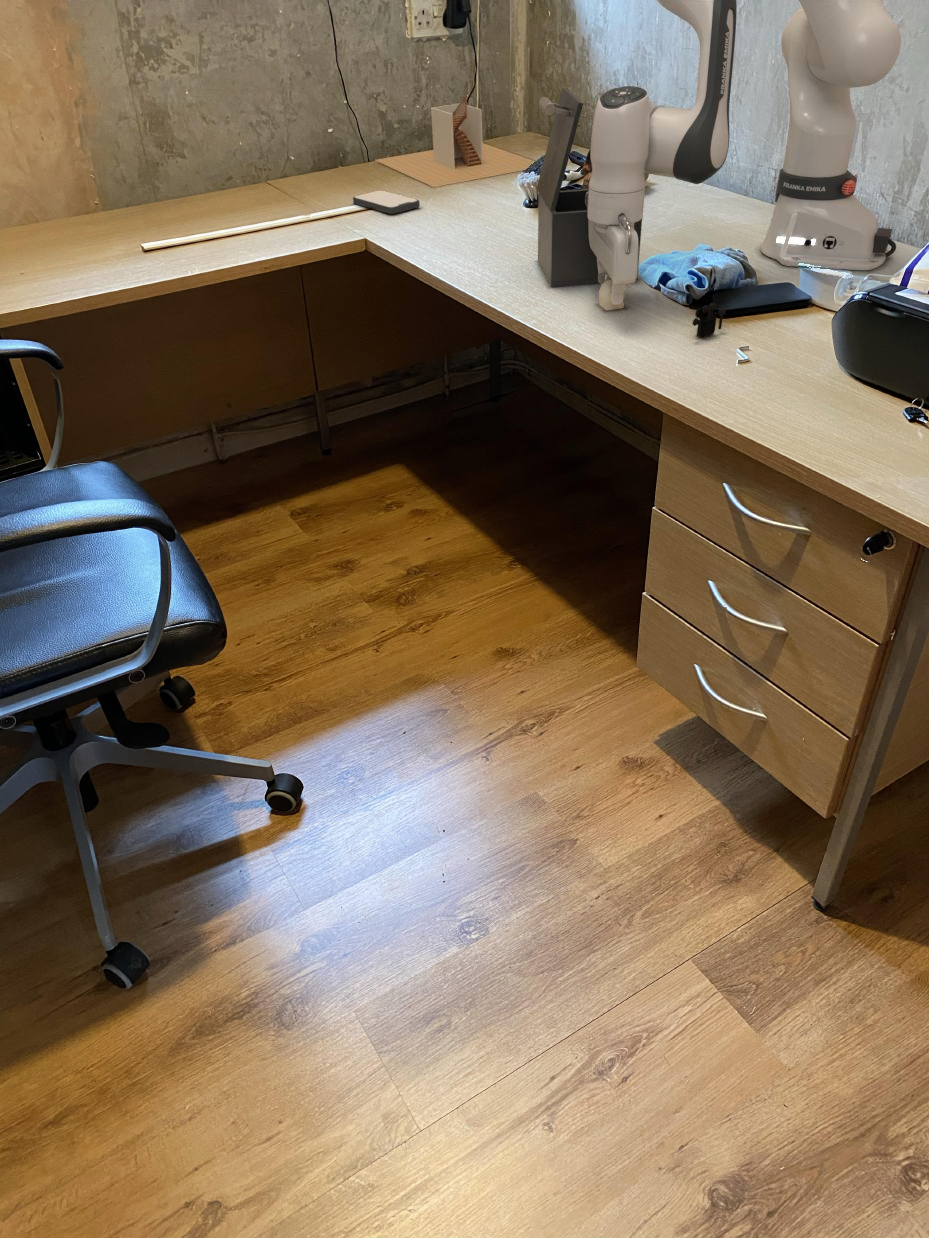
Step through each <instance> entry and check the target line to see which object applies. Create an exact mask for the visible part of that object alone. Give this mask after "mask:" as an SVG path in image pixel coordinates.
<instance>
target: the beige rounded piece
mask: <svg viewBox="0 0 929 1238" xmlns="http://www.w3.org/2000/svg"><path fill="white" fill-rule="evenodd" d="M612 287H613V284H612V280H608V281H606V282H604V283H603V284H602V285H601V284H600V287H599V289H598V305H599V306H600V307H601V308H602V309H603V310H605V311H613V310H620V309H624V308H625V307H624V306H625V303H624V301H623V302H622V304H619V305H613V304H612V302H611V300H610V297H611V296H610V294H611V291H612ZM625 296H626V290H625V291H624V294H623V300H624V299H625Z"/></svg>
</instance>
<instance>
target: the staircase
mask: <svg viewBox="0 0 929 1238" xmlns="http://www.w3.org/2000/svg"><path fill="white" fill-rule="evenodd" d="M467 97H468V96H467V92H465V93H464V97H463V98H462V99H461V101H460V103H452V104H446V105H440V106H433V107H430V116H431V131H432V132H431V133H432V147H433V149H432V150H433V161H434V162H435V163H437V164H440V165H442V166H445V167H447V168H450V169H452V170H455V169H456V161H455V159H457V158H462V159H463V161H464V163H465V165H466V166H467V167H469V166H473V165H478V164H480V165H483V164H484V143H485V142H483V110H482V109H483V108H482V109H481V108H478V107H475V106H471V105H469V104H468V102H467V99H468V98H467Z"/></svg>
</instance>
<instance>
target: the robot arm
mask: <svg viewBox="0 0 929 1238" xmlns="http://www.w3.org/2000/svg"><path fill="white" fill-rule="evenodd" d="M656 1H657V2H658V3H659V4H660V5H661V6H662V7H663V9H664V8H665V10H666V11H668V12H670V13H672V14H673V15H675V16H677V17H679V18H680V19H682V20H683V21H684V22H686V23H687V24H689V25H690V26H691V27H692V28H693V30H694V31H695V33H696V35H697V37H698V41H699V58H698V59H699V60H698V71H697V86H696V99H695V103H694V106H693V107H692V108H683V107H673V106H665V105H661V104H660V105H659V104H657V103H655V102H652V101H651V100H650V98H649V93H648V91H647V90H646V89H644V88H643V87H639V86H636V85H635V86H633V85H625V86H620V87H614V88H611V89H609V90H607V91H606V92H604V93H602V94H601V95H600V96H599V98H598V100H597V103H596V106H595V110H594V115H593V121H592V127H591V129H592V130H591V139H590V149H591V151H590V158H591V163H592V175H591V179H590V182H589V192H587V193H586V200H585V203H586V206H587V210H588V213H587V217H588V229H589V243H590V248H591V249H592V251H593V252H594V254H595V255H596V257H597V266H598V282H599V283H598V284H599V285H600V286H601V285H602V284H603V283H604V282H606V281H608V280H610V278H611V279H612V284H613V287H612V291H611V294H610V296H611V297H610V300H611V302H612V304H613V305H619V304H622V302H624V299H623V294H624V291H625V292H626V288H627V285H629V284H634V283H636V281H637V280H636V278H637V272H638V273H639V266H638V235H637V233H636V231H635V230H634V223H635V222H638V221H640V220H641V219H642V220H643V218H644V206H645V195H646V182H645V178H644V172H645V173H649V175H653V176H660V177H667V178H674V179H676V180H679V181H683V182H686V183H690V184H693V185H700V184H702V183H704V182H706V181H707V180H709V179H710V178H711V177H713V176H714V175H715V174H716V173H718V172H719V171H720V170H721V169H722V167H724V165H725V163H726V160H727V157H728V153H729V149H730V135H731V134H730V101H731V90H732V78H733V69H734V59H735V58H734V57H735V56H734V55H735V48H736V47H735V46H736V34H737V13H738V12H737V11H738V9H737V5H738V4H737V0H656ZM882 1H883V0H798V2H799V3H800V6H801V8H799V9H797V11H796V12H794V13H793V15H792V16H791V17H790V18H789V19H788V21H787V22H786V25H785V27H784V29H783V31H782V35H781V40H780V47H781V52H782V56H783V58H784V61H785V64H786V68H787V78H788V79H787V80H788V95H789V96H788V97H789V123H788V132H787V139H786V145H785V150H784V151H785V152H784V156H783V158H784V159H783V164H782V168H780V169H779V173H778V176H777V181H776V185H775V186H776V187H775V193H774V202H775V204H774V209H773V213H772V216H771V219H770V221H769V222H770V223H769V225H768V229H767V231H766V234H765V236H764V239H763V241H762V243H761V245H760V247H759V250H760V251H761V253H762V254H763V255H765V256H767V257H769V258H771V259H773V260H776V261H777V262H778V263H780V264H781V266H782V265H783V266H787V267H798V264H799V263H804V264H810V265H814V266H821V267H828V268H827V269H832V268H833V269H834V270H848V271H849V270H851V271H871V270H875V269H877V268H879V267H880V266H882V265H883V264H884V263H885V261H886V260H887V258H888V257H890V256H891V255H893V254H894V253H895V252H896V250H897V244H896V242H895V241H894V240H893V239H891V236H892V231H893V229H892V228H884V227H879V225H878V220H877V218H876V217H877V216H875V215H874V213H872V211H870V210H869V209H868V208H867V207H866V205H864V204H863V203H862V202H861V201H860V200H859V199H858V198H857V197H856V196H855V195H854V194H855V191H856V187H857V183H858V174H857V173H855V175H854V174H853V173H852V172H851V171H849V170H848V167H849V163H850V158H851V153H852V149H853V143H854V137H855V133H856V128H857V119H856V114H855V112H854V110H853V106H852V101H851V89H853V88H855V89H856V88H863V87H869V86H872V85H875V84H877V83H879V82H880V81H881V80H883V79H884V78H885V77H886V76H887V75H888V74H889V73H890V71H891V70H892V69H893V67H894V65H896V62H897V60H898V58H899V54H900V52H901V45H902V38H901V37H902V36H901V31H900V29H899V26H898V25H897V23H896V22H895V21H894V20H893V18H892V17H891V16H890V14H889V13H888V11H887V10H886V7H885V5H884V3H883V2H882ZM889 246H890V250H888V247H889ZM833 269H832V270H833Z"/></svg>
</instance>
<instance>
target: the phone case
mask: <svg viewBox="0 0 929 1238" xmlns="http://www.w3.org/2000/svg"><path fill="white" fill-rule="evenodd" d="M352 201H353V202H352V203H353V204H355V205H358V206H362V207H365V208H369V209H372V210H376V211H380V212H383V213H386V214H390V215H393V214H397V213H402V212H405V211H409V210H412V209H413V210H414V209H418V208H419V207H420V205H421V203H420V200H419V199H416V198H413V197H408V196H404V195H401V194H398V193H393V192H390V191H386V190H375V191H371V192H367V193H362V194H359V195H354V196H353V197H352Z"/></svg>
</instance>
